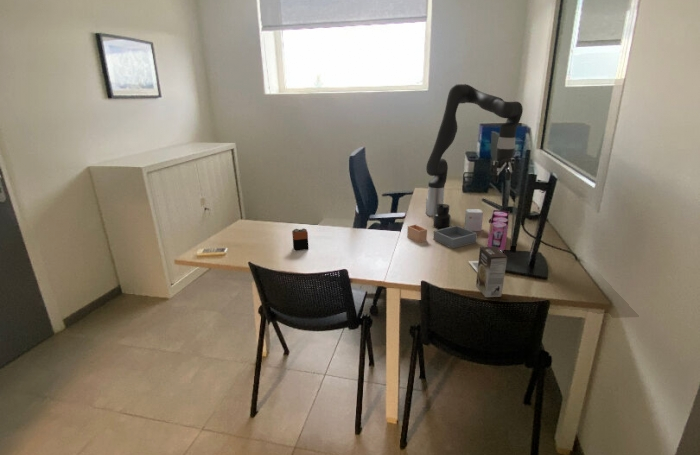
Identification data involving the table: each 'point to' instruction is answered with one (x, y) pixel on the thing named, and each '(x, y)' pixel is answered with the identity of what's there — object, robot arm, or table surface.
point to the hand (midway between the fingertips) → (501, 181)
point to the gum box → (498, 229)
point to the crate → (454, 236)
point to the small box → (473, 219)
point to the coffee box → (491, 271)
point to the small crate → (417, 233)
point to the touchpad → (474, 264)
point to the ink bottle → (442, 216)
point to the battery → (300, 239)
